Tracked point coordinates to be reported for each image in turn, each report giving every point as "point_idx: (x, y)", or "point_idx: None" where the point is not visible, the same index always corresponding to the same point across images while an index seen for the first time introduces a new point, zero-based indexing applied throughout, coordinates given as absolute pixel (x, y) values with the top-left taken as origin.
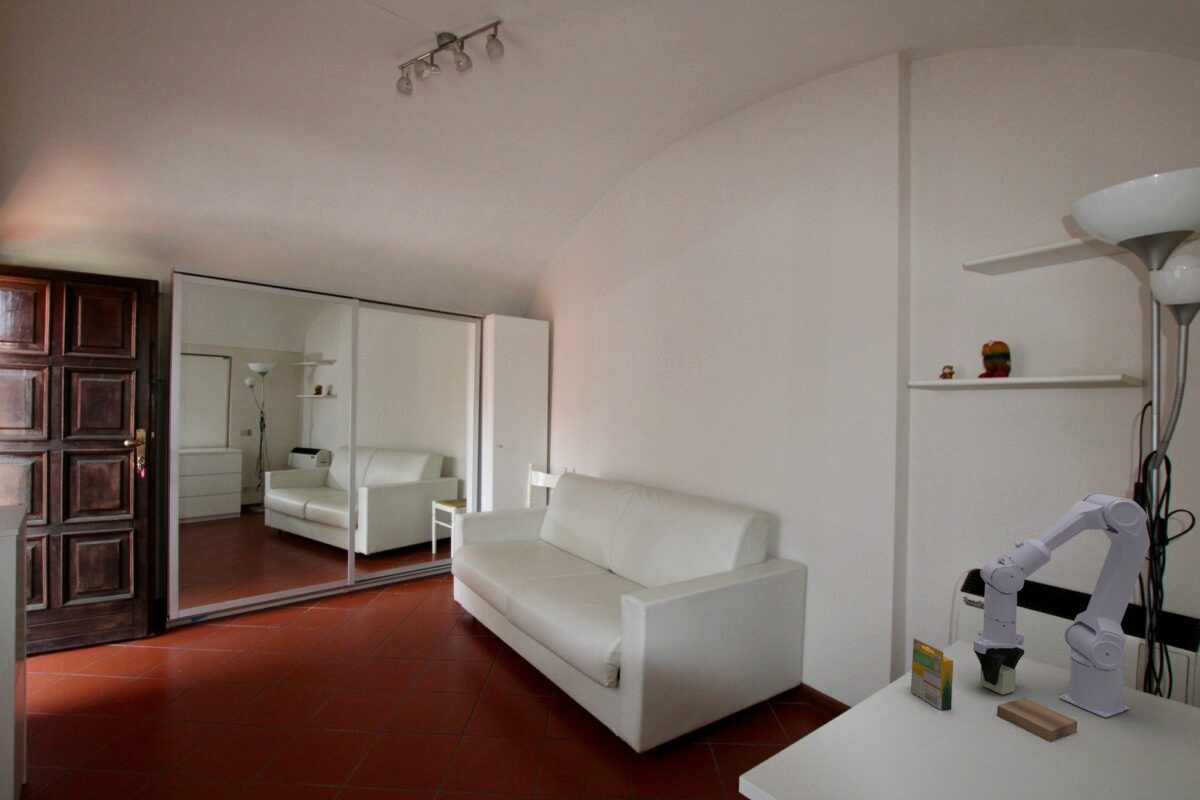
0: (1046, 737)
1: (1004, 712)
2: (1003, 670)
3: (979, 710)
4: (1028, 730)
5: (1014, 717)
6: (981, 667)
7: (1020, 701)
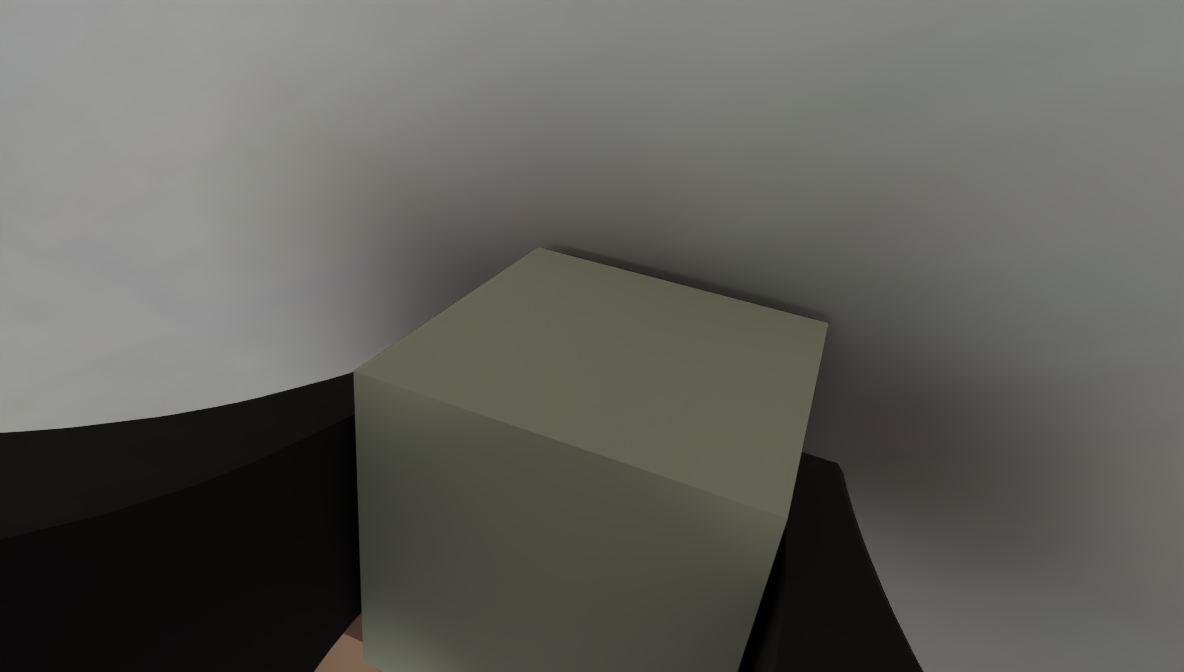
0: None
1: None
2: (464, 668)
3: (125, 376)
4: None
5: None
6: (299, 387)
7: (344, 655)
